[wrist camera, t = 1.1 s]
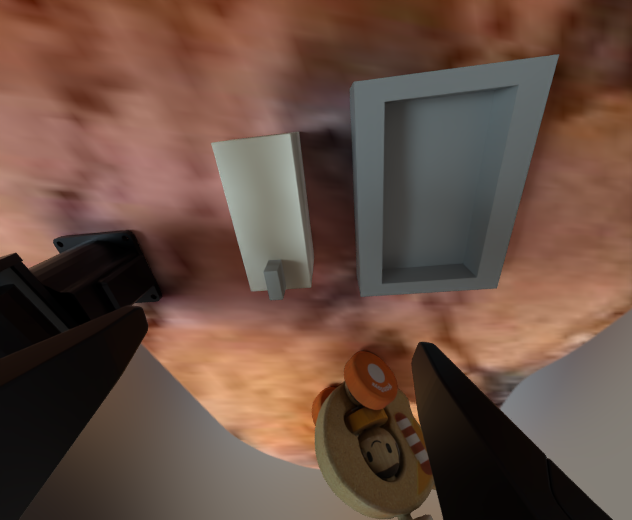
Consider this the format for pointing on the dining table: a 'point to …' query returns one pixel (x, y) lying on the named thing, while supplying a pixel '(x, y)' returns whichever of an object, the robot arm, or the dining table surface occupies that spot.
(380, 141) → the cradle
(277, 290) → the white block with tab
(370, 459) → the toy helicopter
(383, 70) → the dining table surface
